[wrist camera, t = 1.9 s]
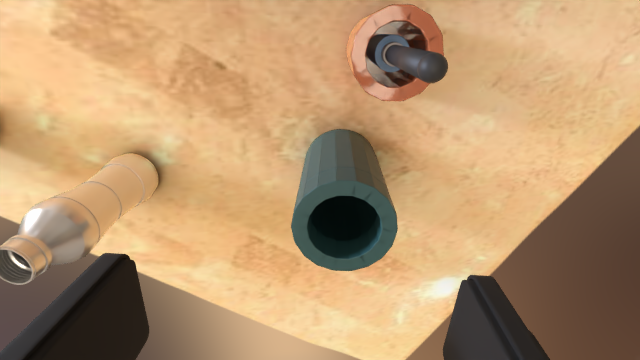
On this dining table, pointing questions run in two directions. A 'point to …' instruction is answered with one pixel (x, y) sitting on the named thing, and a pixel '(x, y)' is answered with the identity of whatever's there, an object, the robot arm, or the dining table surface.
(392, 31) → the crock
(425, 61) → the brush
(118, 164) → the metal bottle
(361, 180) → the teal hollow cylinder
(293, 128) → the dining table surface
